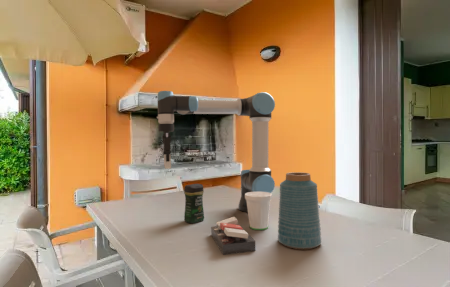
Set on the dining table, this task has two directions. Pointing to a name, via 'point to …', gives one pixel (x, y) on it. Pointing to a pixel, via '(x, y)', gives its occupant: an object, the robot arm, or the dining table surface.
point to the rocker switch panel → (232, 242)
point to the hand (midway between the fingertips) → (167, 167)
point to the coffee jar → (194, 203)
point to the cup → (258, 209)
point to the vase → (299, 212)
